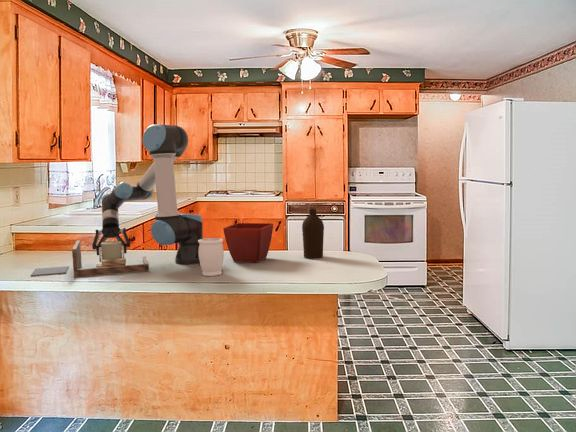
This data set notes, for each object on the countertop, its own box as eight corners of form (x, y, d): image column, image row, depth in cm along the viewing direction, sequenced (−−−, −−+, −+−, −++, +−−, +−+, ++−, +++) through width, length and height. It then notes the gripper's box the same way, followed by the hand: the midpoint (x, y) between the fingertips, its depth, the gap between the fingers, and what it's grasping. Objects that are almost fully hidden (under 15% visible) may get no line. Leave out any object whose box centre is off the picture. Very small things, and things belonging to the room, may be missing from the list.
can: (102, 269, 234) (100, 243, 233) (101, 266, 243) (100, 240, 241) (123, 267, 237) (122, 242, 236) (122, 264, 246) (120, 239, 245)
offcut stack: (130, 269, 236) (129, 257, 236) (130, 271, 231) (130, 259, 231) (95, 272, 231) (94, 260, 230) (95, 274, 226) (94, 262, 225)
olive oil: (312, 260, 247) (311, 208, 244) (298, 257, 255) (297, 206, 252) (328, 257, 254) (328, 206, 251) (314, 254, 262) (313, 205, 259)
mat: (68, 267, 241) (68, 266, 241) (65, 273, 227) (65, 272, 227) (35, 270, 236) (35, 268, 236) (30, 276, 223) (30, 275, 223)
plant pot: (223, 263, 244) (222, 227, 242) (239, 255, 262) (238, 222, 260) (261, 264, 239) (260, 228, 237) (274, 257, 257) (274, 223, 255)
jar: (199, 277, 215) (198, 242, 213) (198, 272, 225) (197, 238, 223) (225, 276, 217) (224, 240, 215) (223, 270, 227) (222, 237, 225)
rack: (146, 260, 254) (144, 236, 253) (148, 270, 230) (147, 244, 229) (78, 265, 245) (76, 240, 243) (73, 277, 221) (72, 249, 219)
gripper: (134, 224, 256) (137, 262, 243) (86, 227, 249) (86, 266, 236) (134, 215, 250) (136, 253, 237) (85, 217, 244) (85, 256, 230)
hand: (112, 259), depth 237 cm, fingers open, 9 cm apart
